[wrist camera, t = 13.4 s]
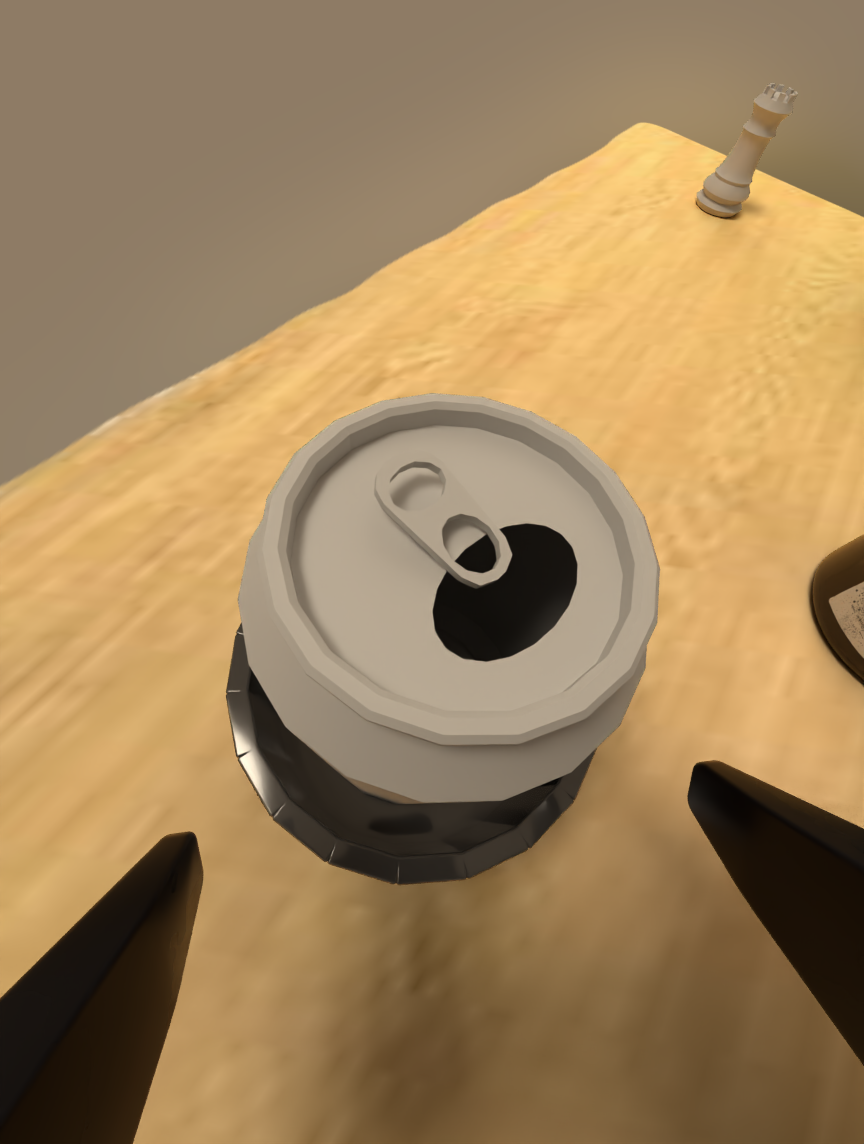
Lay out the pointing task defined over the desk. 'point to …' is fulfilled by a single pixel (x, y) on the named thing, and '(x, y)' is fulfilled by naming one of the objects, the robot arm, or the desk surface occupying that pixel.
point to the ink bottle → (843, 602)
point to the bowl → (378, 803)
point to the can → (449, 599)
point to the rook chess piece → (745, 154)
